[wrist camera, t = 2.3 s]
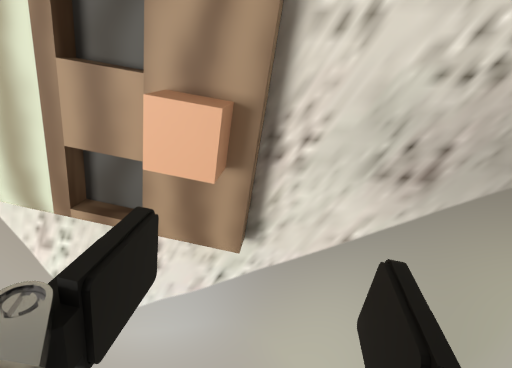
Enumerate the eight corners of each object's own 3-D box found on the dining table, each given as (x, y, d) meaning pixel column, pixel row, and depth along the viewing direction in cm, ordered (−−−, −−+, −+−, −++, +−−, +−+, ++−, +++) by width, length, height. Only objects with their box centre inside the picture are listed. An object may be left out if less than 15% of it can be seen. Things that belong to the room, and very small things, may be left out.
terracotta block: (233, 101, 26) (222, 108, 22) (225, 167, 28) (214, 184, 24) (165, 89, 26) (143, 94, 22) (163, 155, 28) (142, 169, 25)
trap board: (285, -10, 25) (283, -19, 22) (244, 237, 34) (239, 253, 31) (-20, -57, 26) (-57, -70, 24) (21, 190, 36) (-2, 201, 33)
